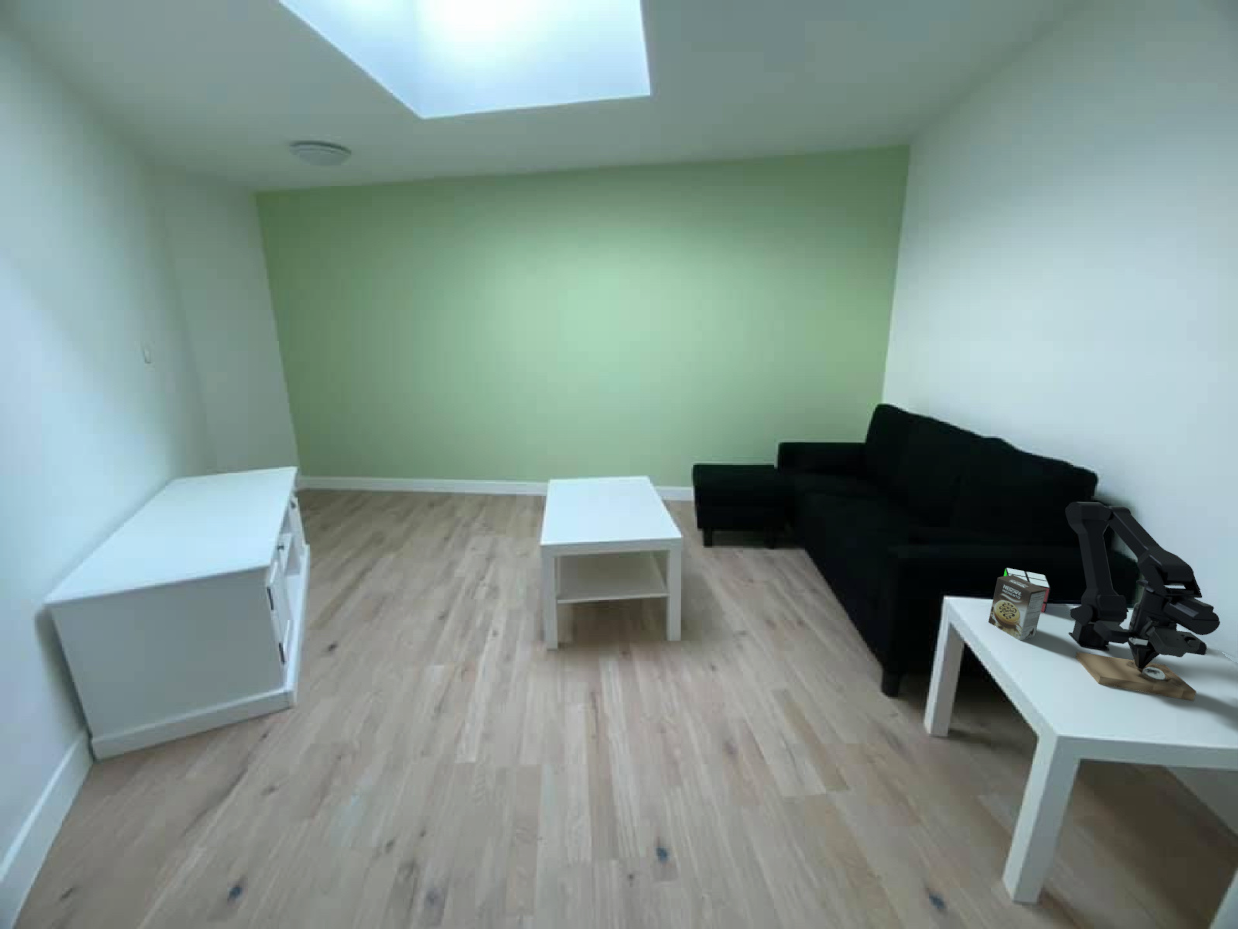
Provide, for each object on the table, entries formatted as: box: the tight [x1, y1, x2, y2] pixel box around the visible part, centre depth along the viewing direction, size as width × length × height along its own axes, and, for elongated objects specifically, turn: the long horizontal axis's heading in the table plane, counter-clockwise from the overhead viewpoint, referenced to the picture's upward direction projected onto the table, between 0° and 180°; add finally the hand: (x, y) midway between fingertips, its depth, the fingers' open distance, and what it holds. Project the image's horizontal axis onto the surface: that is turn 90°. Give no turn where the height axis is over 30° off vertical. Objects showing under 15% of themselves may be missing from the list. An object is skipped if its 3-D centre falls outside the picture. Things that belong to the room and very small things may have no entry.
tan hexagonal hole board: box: [1075, 651, 1197, 701], centre depth 122 cm, size 18×10×2 cm, turn 73°
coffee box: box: [988, 575, 1046, 641], centre depth 139 cm, size 9×6×16 cm
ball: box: [1142, 667, 1166, 681], centre depth 120 cm, size 4×4×4 cm
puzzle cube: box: [1003, 567, 1052, 614], centre depth 154 cm, size 10×10×10 cm
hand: (1139, 667), depth 121 cm, fingers closed
